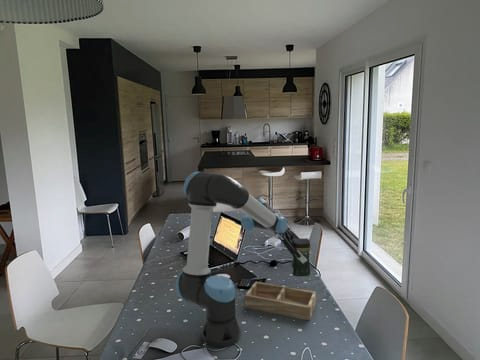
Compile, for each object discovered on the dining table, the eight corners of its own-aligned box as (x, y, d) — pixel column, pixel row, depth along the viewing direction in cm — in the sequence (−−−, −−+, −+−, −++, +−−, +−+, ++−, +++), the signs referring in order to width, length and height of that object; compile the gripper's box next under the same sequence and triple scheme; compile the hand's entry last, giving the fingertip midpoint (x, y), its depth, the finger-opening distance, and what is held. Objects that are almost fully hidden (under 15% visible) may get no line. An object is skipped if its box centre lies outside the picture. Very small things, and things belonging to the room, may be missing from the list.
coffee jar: (308, 270, 184) (309, 236, 181) (311, 277, 176) (312, 241, 173) (289, 270, 184) (290, 236, 181) (291, 277, 177) (292, 241, 173)
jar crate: (309, 320, 152) (309, 307, 151) (245, 307, 163) (244, 295, 162) (316, 303, 165) (316, 291, 164) (255, 292, 176) (255, 281, 175)
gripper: (277, 222, 192) (306, 255, 189) (264, 234, 173) (296, 271, 169) (286, 214, 189) (316, 246, 186) (275, 225, 170) (308, 262, 167)
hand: (307, 258), depth 178 cm, fingers closed on coffee jar, 8 cm apart
